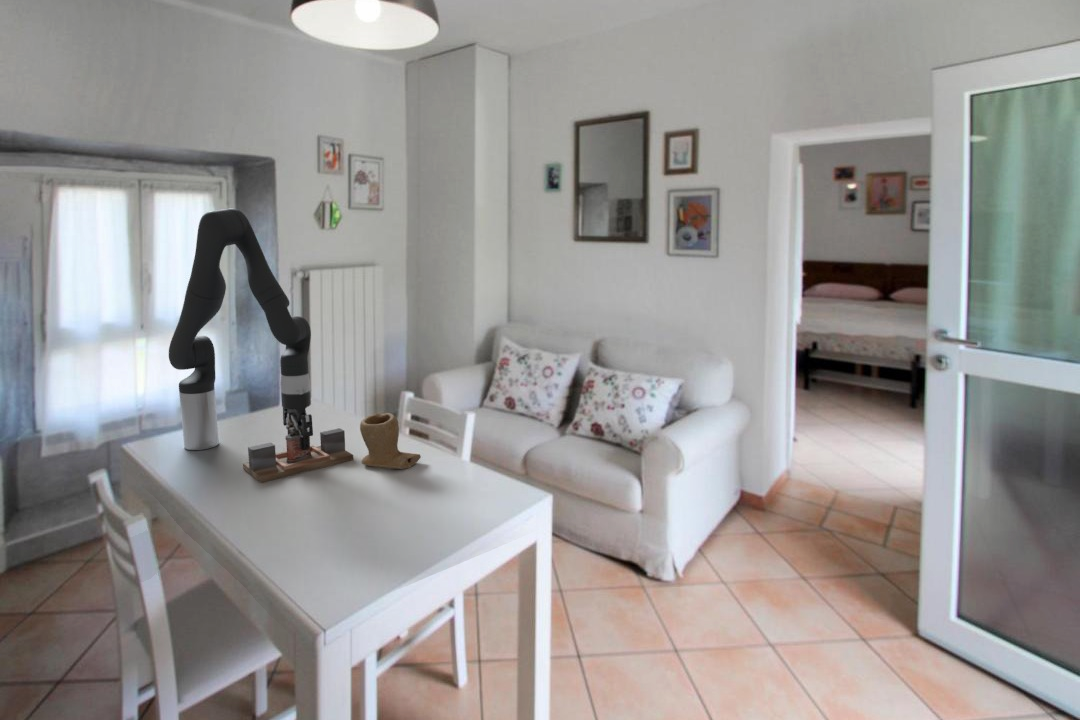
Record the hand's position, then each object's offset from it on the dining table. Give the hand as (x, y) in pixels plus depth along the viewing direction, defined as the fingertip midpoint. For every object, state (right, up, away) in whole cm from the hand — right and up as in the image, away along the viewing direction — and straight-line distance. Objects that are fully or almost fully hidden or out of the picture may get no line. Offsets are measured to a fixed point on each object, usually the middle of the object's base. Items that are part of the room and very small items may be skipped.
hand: (298, 445), depth 174 cm
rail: (0, -5, +1) cm, 5 cm away
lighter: (0, -4, +1) cm, 4 cm away
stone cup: (+25, -6, +1) cm, 25 cm away
